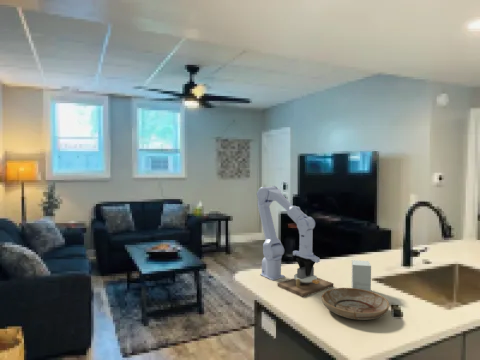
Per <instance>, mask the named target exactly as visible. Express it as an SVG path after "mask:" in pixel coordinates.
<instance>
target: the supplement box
mask: <svg viewBox="0 0 480 360" xmlns="http://www.w3.org/2000/svg"><path fill="white" fill-rule="evenodd" d="M371 287H372V265H371V263H370V261H369V260H356V259H355V260H354V259H352V260H351V288H356V289H362V290H367V291H371V292H372V290H371V289H372V288H371Z"/></svg>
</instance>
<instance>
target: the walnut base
mask: <svg viewBox="0 0 480 360" xmlns="http://www.w3.org/2000/svg"><path fill="white" fill-rule="evenodd" d="M317 280H319V281H320V283H318V284H315V283H313V282H312V283H304V282H300V279H296V280H295V279H294V277H293V278H290V279H287V280H284V281H279V282H277V287H278V288H281V289H283V290H285V291H288V292H289V293H292V294H295V295H296V296H299V297H301V298H303V297H307V296H310V295H313V294H315V293H319V292H322V291H324V290H327V289H328V290H329V289H330V288H331V289H332V288H333V287H334V283H333V282H331V281H328V280H325V279H322V278H319V277H317Z"/></svg>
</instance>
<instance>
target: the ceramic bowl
mask: <svg viewBox="0 0 480 360" xmlns="http://www.w3.org/2000/svg"><path fill="white" fill-rule="evenodd" d="M321 301H322V303H323V306H325V308H327V310H329V311H330V312H332V313H334V314H335V315H338V316H340V317H343V318H346V319H350V320H360V321H367V320H368V321H370V320H374V319H375V320H376V319H378V318H381V317H383V316H384V315H386V313H387V312H388V311H389V309H390V303H389V301H388V299H386V298H385V297H384V296H382V295H380V294H379V293H376V292H373V291H372V290H371V291H367V290H362V289H356V288H352V287H336V288H331V289H328V290H326V291H324V292H323V293H322V295H321Z"/></svg>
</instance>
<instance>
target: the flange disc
mask: <svg viewBox="0 0 480 360" xmlns="http://www.w3.org/2000/svg"><path fill="white" fill-rule="evenodd" d="M296 272H297V273H295V274H294V277H293V278H294V279H295V280H296V279H300V282H304V283H312V282H313V283H315V284H318V283H320V281H319V280H317V278H318V277H317V275H315V267H314V266H313V268H312V271H311V274H310V276H306V270H305V267H302V268H299V267H298V268H297V271H296Z"/></svg>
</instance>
